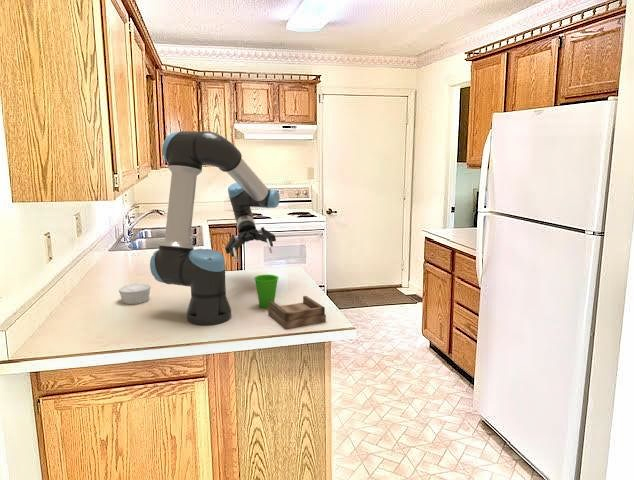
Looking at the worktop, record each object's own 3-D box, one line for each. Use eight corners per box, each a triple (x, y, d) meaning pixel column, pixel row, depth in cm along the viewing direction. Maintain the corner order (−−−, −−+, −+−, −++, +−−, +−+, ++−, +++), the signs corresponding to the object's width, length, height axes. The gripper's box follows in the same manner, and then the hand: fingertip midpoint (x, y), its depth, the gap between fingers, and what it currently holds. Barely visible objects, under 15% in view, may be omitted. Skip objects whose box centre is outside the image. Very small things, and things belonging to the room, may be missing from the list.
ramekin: (113, 304, 175) (112, 291, 174) (129, 295, 186) (128, 282, 185) (141, 306, 174) (141, 292, 173) (156, 297, 184) (155, 284, 183)
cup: (274, 310, 169) (274, 281, 167) (251, 309, 171) (250, 280, 169) (281, 303, 178) (281, 275, 176) (258, 301, 180) (258, 273, 177)
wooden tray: (285, 329, 152) (285, 314, 151) (268, 314, 165) (268, 301, 164) (325, 321, 159) (325, 307, 158) (306, 308, 172) (306, 295, 171)
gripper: (276, 227, 201) (286, 254, 183) (219, 242, 198) (224, 270, 180) (273, 212, 197) (282, 238, 179) (215, 227, 194) (219, 255, 176)
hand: (253, 254), depth 180 cm, fingers open, 13 cm apart
